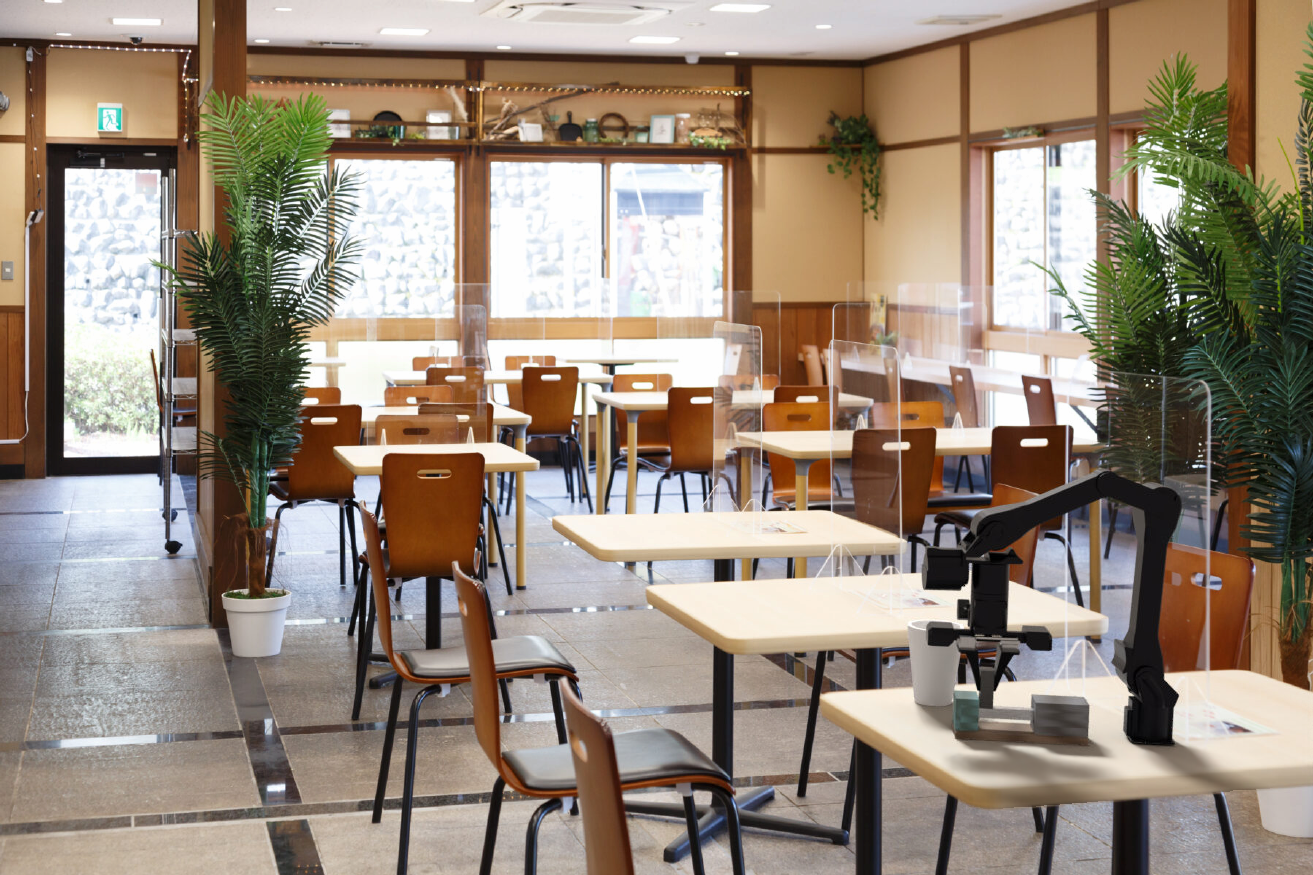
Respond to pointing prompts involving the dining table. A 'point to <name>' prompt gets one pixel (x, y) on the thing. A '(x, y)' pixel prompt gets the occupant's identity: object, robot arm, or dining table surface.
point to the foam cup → (932, 666)
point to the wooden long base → (1051, 723)
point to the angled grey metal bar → (997, 711)
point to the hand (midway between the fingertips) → (986, 690)
